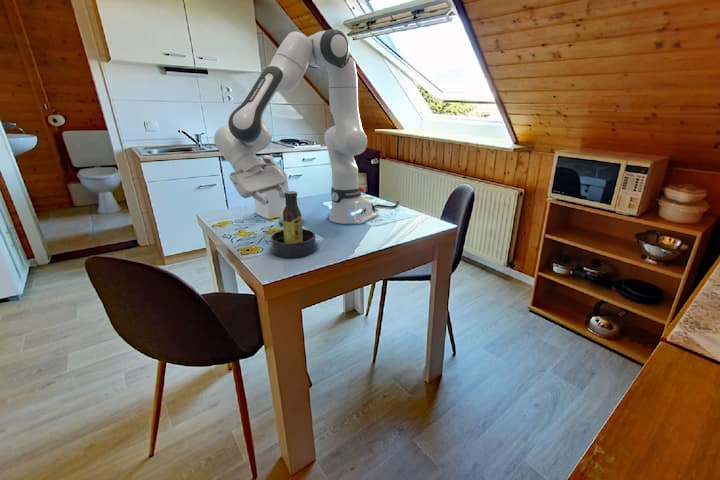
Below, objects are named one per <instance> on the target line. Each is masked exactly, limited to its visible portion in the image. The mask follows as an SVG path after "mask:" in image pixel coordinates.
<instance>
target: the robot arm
mask: <svg viewBox="0 0 720 480" xmlns="http://www.w3.org/2000/svg"><path fill="white" fill-rule="evenodd" d="M308 68H312V69H320V68H325V70H326V72H327V75H328V97H329V111H330V113H331V116H332V118H333V121H334V125H333V126H330V127H328V128H327V129H326V131H325V132H324V135H323V141H324V144H325V145H326V148H327V153H328V158H329V162H330V167H331V168H330V169H331V187H330V188H331V189H330V196H331V205H329V206H328V209H330V212H329V213H330V214H329V217H328V221H330V222H332V223H335V224H342V225H348V224H350V225H354V224H355V225H361V224H363V223H365V222H367V221H370V220H371V219H373V218H376V217H378V213H377V212H376V209H375V207H382V208H389V209H391V208H397V206H398V205H399V204H400V201H399V200H396V203H395V205H384V204H373V203H372V202H371V201H370V200H369V199H367V198H366V197H364V196H363V195H362V193H364V192H365V191H366V187H365V186H360V187H359V168H358V165H357V163H356V160H355V156H358V155H361V154H363V153H364V152H365V151H366V149H367V148H368V143H369V141H368V136H367V134H366V133H365V131H364V129H363V126H362V121H361V117H360V116H361V115H360V111H359V88H358V87H359V85H358V84H359V83H358V73H357V67H356V62H355V60H354V59H353V58H352V57H351V51H350V44H349V40H348V38H347V36H346V35H345V33H344V32H343V31H341V30H339V29H335V28H329V29H327V30H320V31H317V32H315V33H313V34H311V35H308V36H307V35H306V34H305V33H302V32H301V31H291V32H289V33H288V34H287V35H286V37H284V39H283V40H282V42H281V43H280V45H279V46H278V48H277V50H276V52H275V53H274V55H273V57H272V58H271V61H270V63H269V65H268V66H267V67H266V68H265V69H264V70H263V71H262V73H261V74H260V75H259V77H258V78H257V80H256V81H255V83H254V85H253V86H252V87H251V89H250V91H249V93H248V95H247V96H246V97H245V99H244V100H243V101H242V103H241V104H239V106H237V107H236V108H235V109H234V110H233V111H232V112H231V114H230V115H229V118H228V123H227V124H224V125H222V126H220V127H219V128H218V129H216V131H215V133H214V136H213V142H214V145H215V146H216V148H217V150H218V152H219V153H220V155H221V156H222V158H224V160H225V161H226V162H228V163H230V166H231V167H232V169H233V170H234V171H232V172H230V174H229V180H230V181H231V182H232V184H233V187H234V188H235V190H236V191H237V193H238V194H239V196H240V197H241V198H243V199H248V198H253V199H254V200H255V199H256V200H258V201H260V202H261V203H262V205H266V204H267V203H268V202H269V201H268V200H267V198H266V197H265V198H264V197H262V196H261V195H259V194H261V193H264V192H267V191H271V190H274V189H276V190H277V191H279V196H280V198H281V199H282V198H285V192H284V189H283V185H284V184H285V183H286V178H285V177H284V175H283V174H282V173H281V172H280V170H279V169H278V168H277V167H276V166H274V165H272V164H273V161H272V160H271V159H267V158H263V157H261V156H258V155H256V154H257V153H259V152H261V151H263V150H264V149H266V148H268V146H269V145H270V144H271V141H272V131H271V128H269V126H268V125H267V124H266V122H265V121H263V116H264V112H265V110H266V109H267V108H268V106H269V104H270V102H271V100H272V99H273V97H274V96H275V94H277V93H278V92H283V93H289V92H293V91H295V90H296V88H297V87H298V86H299V85H300V83H301V81H302V80H303V78H304V75H305V74H306V71H307V69H308Z"/></svg>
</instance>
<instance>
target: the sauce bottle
mask: <svg viewBox="0 0 720 480" xmlns="http://www.w3.org/2000/svg"><path fill="white" fill-rule="evenodd" d="M285 200H286V207H285V208H284V211H283V224H282V226H283V227H282V230H284V243H286V244H293V243H301V242H303V236H302V229H303V222H302V216H303V215H302V212H301V210H300V208H299V205H298V191H295V190H289V191H287V192H285Z"/></svg>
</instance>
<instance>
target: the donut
mask: <svg viewBox="0 0 720 480" xmlns="http://www.w3.org/2000/svg"><path fill="white" fill-rule="evenodd" d="M278 220H279V224H281V225H283V215H282V216H281V217H279V219H278ZM303 222H304V217H303V215H302V223H303Z"/></svg>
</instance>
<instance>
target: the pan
mask: <svg viewBox="0 0 720 480" xmlns="http://www.w3.org/2000/svg"><path fill="white" fill-rule="evenodd" d="M302 236H303V242H301V243H293V244H286V243H284V229H282V230H278V231H276V232H273V234H272V235H271V236H270V243H271V244H270V245H271V252H272V254H274V255H276V256H278V257H282V258H300V257H304V256H308V255H310V254H312V253H314V252H315V251H316V248H317V245H316V244H317V242H316V241H317V240H316V233H315V231H313V230H310V229H306V228H302Z"/></svg>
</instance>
